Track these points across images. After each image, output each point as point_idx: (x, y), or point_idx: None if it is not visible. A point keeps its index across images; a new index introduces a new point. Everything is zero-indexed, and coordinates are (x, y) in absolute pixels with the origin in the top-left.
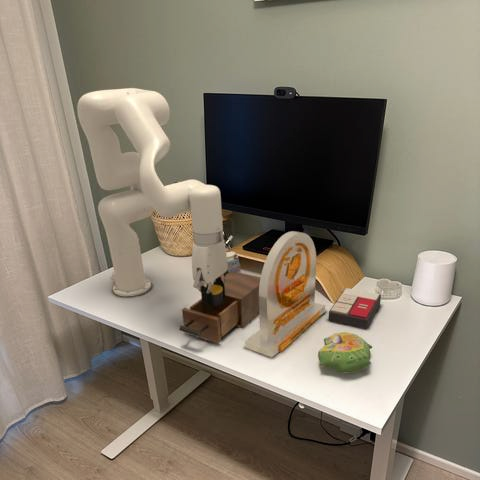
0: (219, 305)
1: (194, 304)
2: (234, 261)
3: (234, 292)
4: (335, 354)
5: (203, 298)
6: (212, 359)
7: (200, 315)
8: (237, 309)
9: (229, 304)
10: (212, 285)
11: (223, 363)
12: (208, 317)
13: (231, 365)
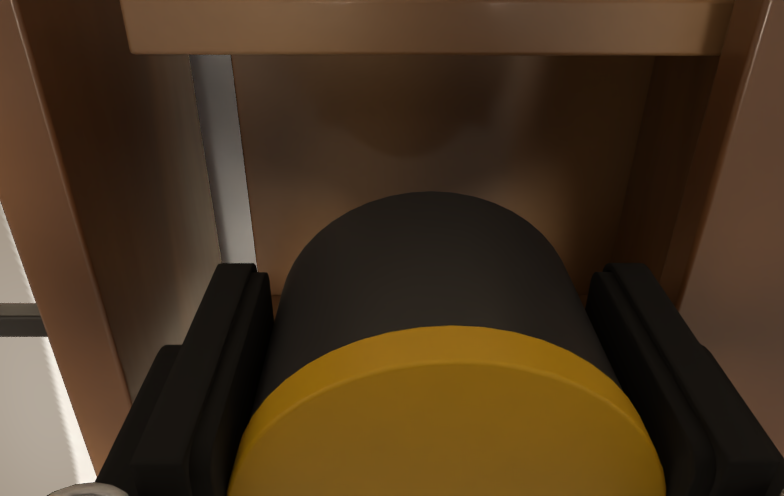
0: (687, 97)
1: (246, 24)
2: None
3: (775, 438)
4: None
5: (141, 418)
6: (45, 341)
7: (46, 316)
8: None
9: None
10: (594, 455)
11: (68, 412)
12: (78, 422)
13: (88, 453)
